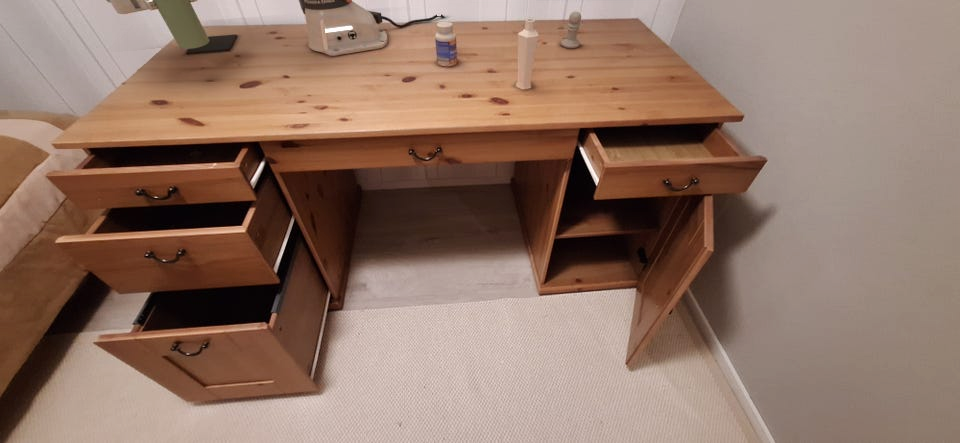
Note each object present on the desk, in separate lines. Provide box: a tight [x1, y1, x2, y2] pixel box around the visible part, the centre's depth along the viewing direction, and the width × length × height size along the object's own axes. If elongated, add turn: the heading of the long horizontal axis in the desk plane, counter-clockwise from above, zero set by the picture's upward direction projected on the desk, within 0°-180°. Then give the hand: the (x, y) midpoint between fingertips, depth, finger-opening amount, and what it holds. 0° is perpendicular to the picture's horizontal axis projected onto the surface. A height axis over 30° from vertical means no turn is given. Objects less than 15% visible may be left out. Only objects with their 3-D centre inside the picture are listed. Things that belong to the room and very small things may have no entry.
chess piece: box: [560, 10, 582, 49], centre depth 107 cm, size 5×5×9 cm
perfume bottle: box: [515, 18, 540, 91], centre depth 87 cm, size 5×4×15 cm
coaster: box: [185, 33, 238, 55], centre depth 109 cm, size 11×11×1 cm
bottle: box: [154, 0, 209, 50], centre depth 82 cm, size 6×6×17 cm
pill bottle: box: [434, 21, 458, 67], centre depth 98 cm, size 5×5×10 cm
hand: (172, 1), depth 82 cm, fingers closed on bottle, 6 cm apart
